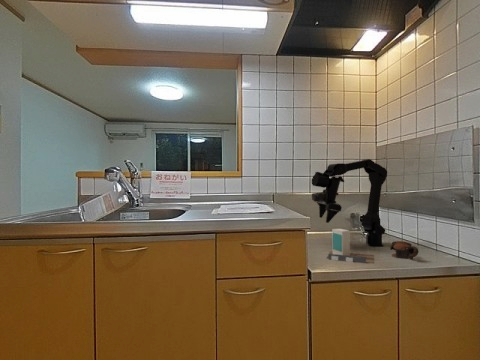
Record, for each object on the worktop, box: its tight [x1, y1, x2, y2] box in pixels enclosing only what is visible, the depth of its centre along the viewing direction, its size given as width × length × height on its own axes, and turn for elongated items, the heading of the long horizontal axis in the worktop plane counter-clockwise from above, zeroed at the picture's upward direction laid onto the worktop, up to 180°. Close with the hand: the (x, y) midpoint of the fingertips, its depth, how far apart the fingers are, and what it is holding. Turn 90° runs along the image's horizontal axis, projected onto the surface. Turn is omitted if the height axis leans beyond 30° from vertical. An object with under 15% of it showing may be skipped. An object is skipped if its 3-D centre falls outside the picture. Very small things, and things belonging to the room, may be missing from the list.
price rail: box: [327, 253, 367, 264], centre depth 114 cm, size 1×14×3 cm, turn 65°
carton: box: [331, 228, 351, 256], centre depth 122 cm, size 4×6×11 cm
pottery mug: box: [389, 240, 420, 260], centre depth 119 cm, size 12×10×8 cm
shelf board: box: [326, 250, 375, 264], centre depth 119 cm, size 12×18×1 cm
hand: (323, 220), depth 139 cm, fingers open, 9 cm apart
